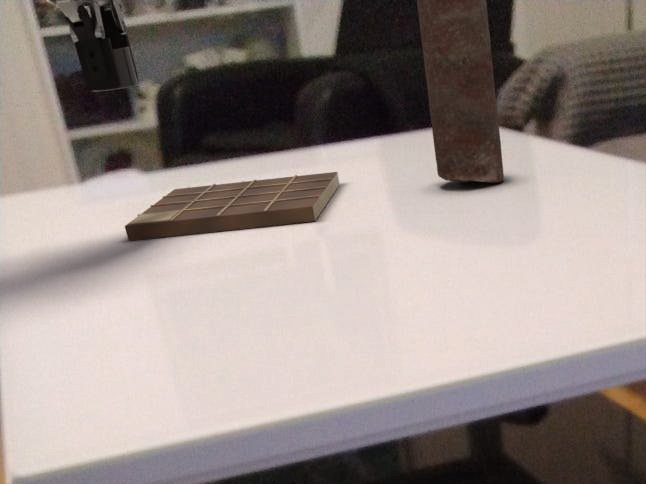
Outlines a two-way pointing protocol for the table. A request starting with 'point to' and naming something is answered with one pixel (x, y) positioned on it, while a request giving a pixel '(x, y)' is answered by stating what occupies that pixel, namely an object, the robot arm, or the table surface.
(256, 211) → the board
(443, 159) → the brown tall block
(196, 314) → the table surface
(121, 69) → the short grey cylinder
